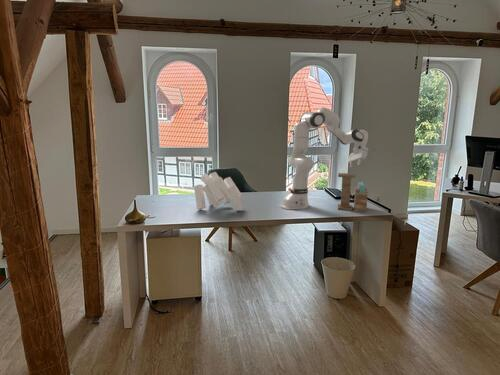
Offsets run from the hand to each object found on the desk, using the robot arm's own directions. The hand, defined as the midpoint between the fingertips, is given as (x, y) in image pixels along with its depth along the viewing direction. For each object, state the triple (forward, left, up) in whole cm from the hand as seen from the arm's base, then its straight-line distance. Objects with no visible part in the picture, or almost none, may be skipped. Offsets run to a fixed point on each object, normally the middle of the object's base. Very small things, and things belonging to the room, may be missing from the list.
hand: (354, 166), depth 272 cm
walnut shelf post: (-15, -11, -29) cm, 35 cm away
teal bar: (-6, -17, -14) cm, 23 cm away
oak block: (-6, -17, -29) cm, 35 cm away
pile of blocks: (-103, +24, -30) cm, 110 cm away
